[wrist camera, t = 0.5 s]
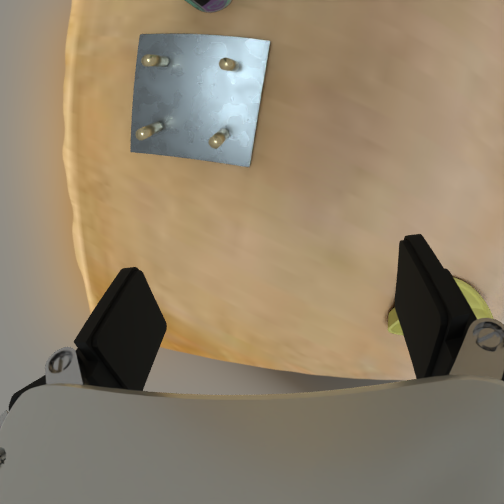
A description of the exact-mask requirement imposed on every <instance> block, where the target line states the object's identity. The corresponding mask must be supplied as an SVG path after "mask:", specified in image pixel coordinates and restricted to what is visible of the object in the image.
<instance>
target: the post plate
mask: <svg viewBox="0 0 504 504" xmlns="http://www.w3.org/2000/svg"><path fill="white" fill-rule="evenodd" d="M270 43H271V42H270V41H266V40H258V39H250V38H241V37H231V36H219V35H202V34H141V35H140V38H139V46H138V54H137V62H136V72H135V82H134V94H133V107H132V125H131V152H136V153H146V154H156V155H165V156H174V157H182V158H190V159H198V160H205V161H212V162H219V163H226V164H232V165H238V166H245V167H250V164H251V158H252V152H253V145H254V139H255V133H256V127H257V121H258V114H259V108H260V102H261V96H262V90H263V84H264V78H265V72H266V66H267V61H268V55H269V49H270Z"/></svg>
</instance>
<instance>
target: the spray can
mask: <svg viewBox="0 0 504 504" xmlns="http://www.w3.org/2000/svg"><path fill="white" fill-rule="evenodd" d="M185 1H187V2H188V3H189V4H191V5H192V6H194V7H195V8H196V9H198V10H200V11H203V12H217V11H220V10H222V9H224V8H225V7H227V6H228V5H229V4H230V3H231V1H232V0H185Z"/></svg>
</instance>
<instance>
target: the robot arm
mask: <svg viewBox="0 0 504 504" xmlns="http://www.w3.org/2000/svg"><path fill="white" fill-rule="evenodd" d="M395 310H396V314H397V317H398V319H399V322H400V325H401V328H402V331H403V335H404V338H405V341H406V344H407V347H408V350H409V354H410V357H411V360H412V364H413V367H414V371H415V374H416V378H417V379H413V380H407V381H401V382H394V383H388V384H381V385H373V386H366V387H358V388H349V389H340V390H330V391H319V392H307V393H292V394H268V395H198V394H197V395H196V394H175V393H160V392H159V393H158V392H147V391H143V388H144V386H145V383H146V380H147V377H148V375H149V372H150V370H151V367H152V365H153V362H154V360H155V357H156V355H157V352H158V349H159V347H160V344H161V342H162V339H163V337H164V334H165V332H166V328H167V325H166V321H165V319H164V317H163V315H162V313H161V311H160V309H159V306H158V304H157V302H156V300H155V298H154V296H153V294H152V292H151V289H150V287H149V285H148V283H147V281H146V278H145V276H144V274H143V272H142V271H140V270H139V269H138V268H136V267H131V268H123V269H122V270H121V271H120V272H119V273H118V275H117V276H116V278H115V279H114V281H113V282H112V284H111V285H110V286H109V288H108V289H107V291H106V292H105V294H104V295H103V297H102V298H101V300H100V301H99V303H98V304H97V306H96V307H95V309H94V310H93V312H92V313H91V315H90V317H89V318H88V320H87V321H86V323H85V324H84V326H83V328H82V329H81V331H80V332H79V334H78V336H77V337H76V339H75V340H74V343H75V344H76V346H77V347H78V348H77V350H76V351H75V350H74V349H73V348H71V347H64V348H61V349H59V350H57V351H56V352H54V353H53V354H52V355H51V356H50V358H49V359H48V361H47V363H46V365H45V375H44V376H43V377H41V378H40V379H38V380H36V381H34V382H33V383H31V384H29V385H28V386H26V387H25V388H23V389H21V390H19V391H18V392H16V393H15V394H14V395H13V396H12V398H11V401H10V404H9V412H8V411H7V410H6V411H5V412H4V413H3V414H2V415H1V416H0V504H504V324H502V323H501V322H500V321H498V320H496V319H492V318H480V319H477V318H476V316H475V314H474V312H473V310H472V308H471V307H470V305H469V303H468V301H467V300H466V298H465V296H464V295H463V293H462V291H461V289H460V288H459V286H458V285H457V283H456V281H455V280H454V278H453V276H452V275H451V273H450V272H449V271H448V269H444V268H443V266H442V265H441V263H440V262H439V260H438V259H437V257H436V255H435V254H434V252H433V251H432V249H431V248H430V246H429V245H428V243H427V242H426V240H425V239H424V237H423V236H422V235H421V234H416V235H408V236H405V238H404V240H402V241H400V243H399V258H398V271H397V283H396V293H395Z"/></svg>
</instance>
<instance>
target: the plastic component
mask: <svg viewBox="0 0 504 504" xmlns="http://www.w3.org/2000/svg"><path fill="white" fill-rule="evenodd" d="M453 278H454V277H453ZM454 280H455V281H456V283H457V285H458V286H459V288H460V289H461V291H462V293H463V295H464V296H465V298H466V300H467V301H468V303H469V305H470V307H471V308H472V310H473V312H474V314H475V316H476V318H477V319H480V318H492V319H494V318H493V316H492V313H491V311H490V309H489V307H488V306H487V304H486V302H485V301H484V300H483V298H482V297H481V296H480V295H479V293H478V292H477V291H476V290H475V289H473V288H472V287H471V286H470V285H468V284H467V283H465V282H463V281H462V280H459V279H457V278H454ZM388 331H389V332H390V333H393V334H398V335H403V331H402V328H401V325H400V322H399V319H398V317H397V314H396V310H395V308H394V309H392V310H391V311H390V312H389V314H388Z"/></svg>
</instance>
